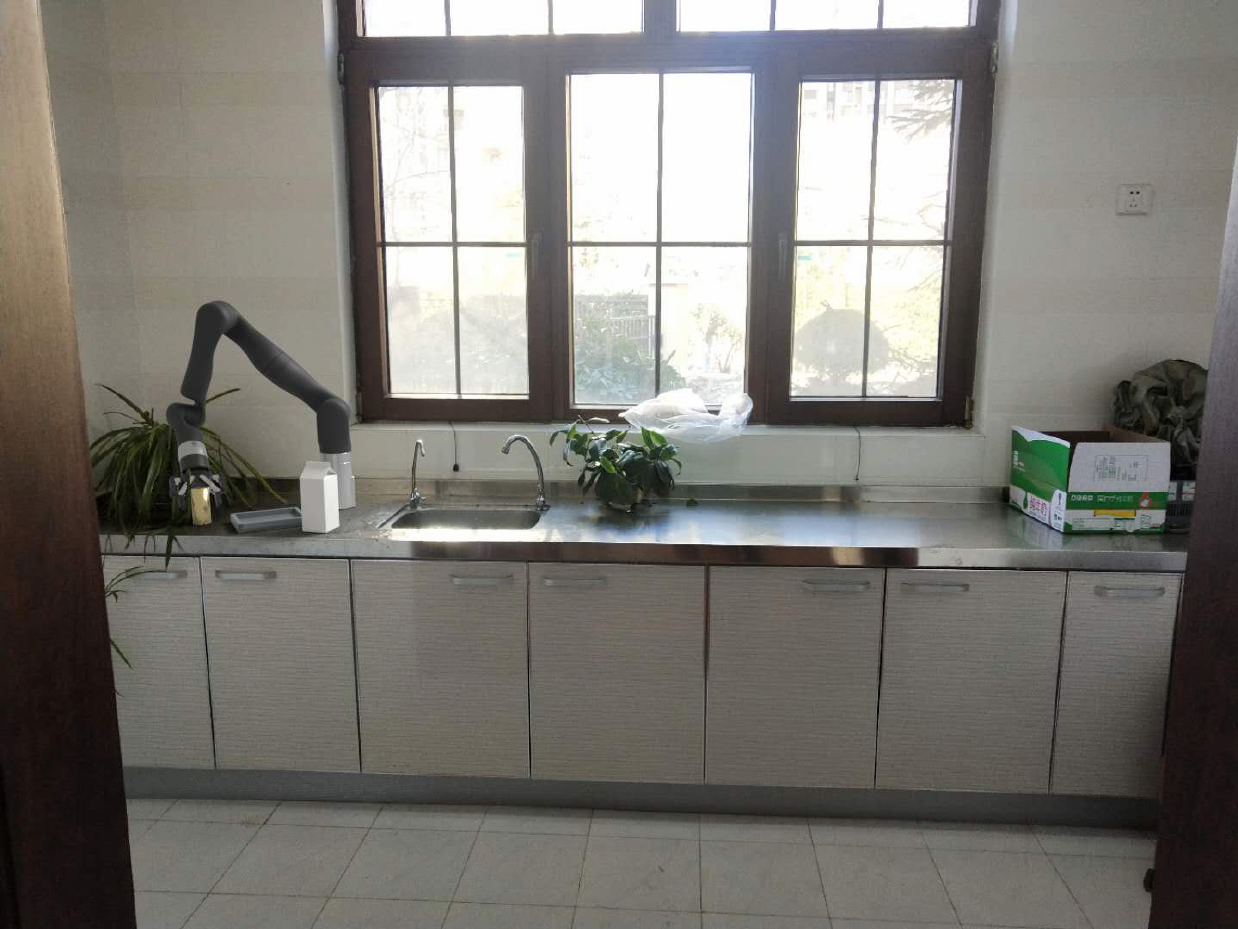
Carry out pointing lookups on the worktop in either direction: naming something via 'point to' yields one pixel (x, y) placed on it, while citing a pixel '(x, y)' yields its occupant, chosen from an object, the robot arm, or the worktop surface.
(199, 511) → the brass bushing
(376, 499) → the worktop surface
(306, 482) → the milk carton
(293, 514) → the tray
